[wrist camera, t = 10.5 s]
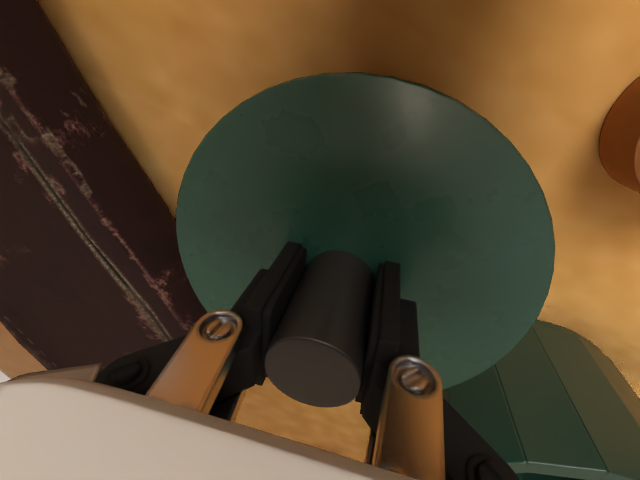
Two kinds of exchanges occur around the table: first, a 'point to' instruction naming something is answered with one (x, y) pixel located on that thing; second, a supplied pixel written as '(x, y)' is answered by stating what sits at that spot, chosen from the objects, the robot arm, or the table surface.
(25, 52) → the diary
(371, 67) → the table surface
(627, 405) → the pot
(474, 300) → the pot lid
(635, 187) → the brown domed piece
